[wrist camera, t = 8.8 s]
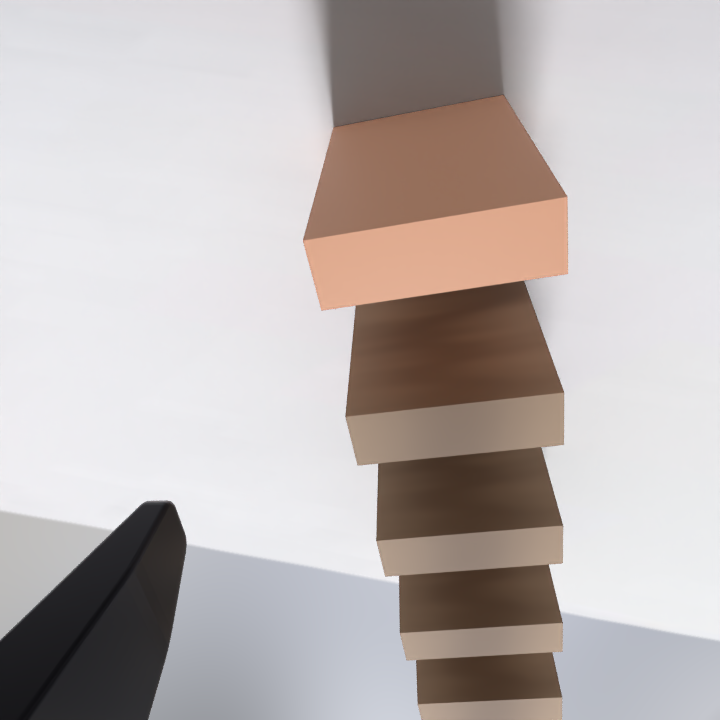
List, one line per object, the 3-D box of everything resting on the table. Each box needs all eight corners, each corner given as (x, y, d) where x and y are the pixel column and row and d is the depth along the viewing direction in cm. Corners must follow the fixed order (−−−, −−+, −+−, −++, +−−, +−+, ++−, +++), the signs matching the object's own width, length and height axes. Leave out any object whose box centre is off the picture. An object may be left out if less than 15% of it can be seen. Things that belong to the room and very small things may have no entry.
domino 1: (503, 95, 18) (567, 196, 12) (507, 150, 19) (567, 274, 12) (333, 127, 19) (302, 240, 12) (344, 179, 20) (321, 310, 13)
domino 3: (514, 353, 23) (563, 525, 17) (516, 387, 24) (562, 563, 18) (380, 369, 24) (376, 540, 17) (387, 401, 25) (385, 576, 18)
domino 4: (519, 443, 26) (562, 622, 19) (520, 470, 27) (562, 651, 20) (397, 455, 26) (399, 633, 20) (403, 482, 27) (406, 660, 21)
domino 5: (522, 516, 28) (562, 697, 22) (523, 539, 29) (561, 720, 23) (411, 526, 29) (417, 704, 22) (416, 548, 30) (422, 726, 23)
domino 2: (509, 241, 21) (564, 392, 14) (511, 284, 22) (563, 444, 15) (359, 263, 21) (345, 417, 15) (367, 303, 22) (357, 465, 16)
